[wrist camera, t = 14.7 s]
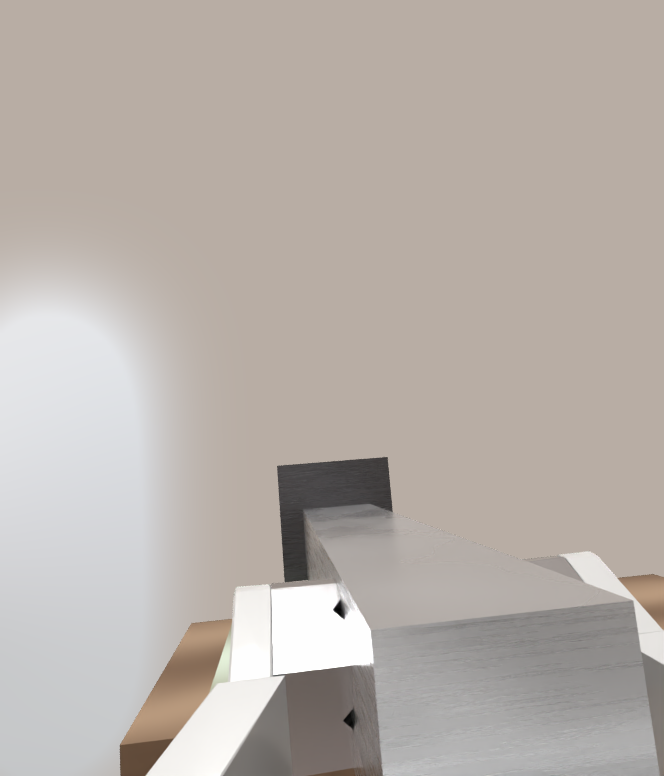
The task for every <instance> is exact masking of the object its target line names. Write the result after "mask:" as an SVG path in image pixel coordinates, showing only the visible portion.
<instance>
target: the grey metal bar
mask: <svg viewBox="0 0 664 776" xmlns="http://www.w3.org/2000/svg"><path fill="white" fill-rule="evenodd" d="M277 468H278V469H277V470H278V485H279V501H280V517H281V531H282V546H283V562H284V577H285V582H292V581H302V580H308V581H311V580H324V579H336V580H337V583H338V589H339V594H340V601H341V618H342V619H344V621H345V626H346V632H347V637H348V643H349V648H350V653H351V659H352V664H353V709H352V710H351V717H352V724H353V730H354V771H355V775H356V776H660V773H659V767H658V760H657V753H656V747H655V740H654V734H653V727H652V720H651V714H650V707H649V701H648V694H647V687H646V681H645V674H644V668H643V661H642V654H641V648H640V641H639V634H638V628H637V621H636V615H635V608H634V601H633V600H631V599H628V598H625V597H623V596H620V595H617V594H614V593H612V592H609V591H606V590H604V589H601V588H598V587H595V586H593V585H590V584H587V583H584V582H582V581H579V580H576V579H574V578H571V577H568V576H565V575H563V574H560V573H557V572H554V571H552V570H549V569H546V568H544V567H541V566H538V565H535V564H533V563H530V562H527V561H524V560H522V559H518V558H516V557H513V556H511V555H508V554H505V553H502V552H500V551H497V550H494V549H492V548H489V547H486V546H483V545H481V544H478V543H475V542H473V541H470V540H467V539H464V538H462V537H459V536H456V535H453V534H451V533H448V532H445V531H443V530H440V529H437V528H434V527H432V526H429V525H426V524H423V523H421V522H418V521H415V520H413V519H410V518H407V517H404V516H402V515H399V514H396V513H393V511H392V500H391V490H390V480H389V468H388V458H387V457H383V458H370V459H358V460H345V461H333V462H320V463H308V464H296V465H283V466H277Z"/></svg>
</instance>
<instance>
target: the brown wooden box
mask: <svg viewBox="0 0 664 776" xmlns="http://www.w3.org/2000/svg"><path fill="white" fill-rule="evenodd" d="M618 580H619V581H620V582H621V583H622V584H623V585H624V586H625V587H626V589H627V590H628V591H629V592H630V593H631V594H632V595H633V597H634V598H635V599H636V600H637V601H638V602H639V603H640V604H641V606H642V607H643V608H644V609H645V610H646V611H647V612H648V613H649V615H650V616H651V617H652V618H653V619H654V620H655V621H656V623H657V624H658V625H659V626H660V627H661V628H662V629H663V630H664V577H661V576H658V575H654V574H651V575H641V576H632V577H622V578H618ZM231 630H232V619H227V620H219V621H218V620H217V621H208V622H200V623H192V624H191V625H190V627H189V628H188V630H187V632H186V634H185V635H184V637H183V639H182V641H181V642H180V644H179V645H178V647H177V649H176V651H175V652H174V654H173V656H172V657H171V659H170V661H169V663H168V664H167V666H166V668H165V670H164V671H163V673H162V674H161V676H160V678H159V680H158V681H157V683H156V685H155V686H154V688H153V690H152V691H151V693H150V695H149V696H148V698H147V700H146V702H145V703H144V705H143V707H142V708H141V710H140V712H139V714H138V715H137V717H136V719H135V720H134V722H133V724H132V725H131V727H130V729H129V731H128V732H127V734H126V736H125V737H124V739H123V741H122V743H121V744H120V770H121V776H146V774H147V773H148V772H149V771H150V769H151V768H152V767H153V765H154V764H155V763H156V762H157V760H158V759H159V758H160V756H161V755H162V754H163V752H164V751H165V750H166V749H167V747H168V746H169V745H170V743H171V742H172V741H173V740H174V738H175V737H176V736H177V734H178V733H179V732H180V730H181V729H182V728H183V727H184V725H185V724H186V723H187V721H188V720H189V719H190V717H191V716H192V715H193V714H194V712H195V711H196V710H197V708H198V707H199V706H200V705H201V703H202V702H203V701H204V699H205V698H206V697H207V695H208V694H209V693H210V692H211V690H212V689H213V688H214V686H215V685H216V684H217V683H224V682H228V675H229V660H230V645H231ZM309 776H356V775H355V771H354V768H350V769H344V770H338V771H332V772H326V773H320V774H314V775H309Z"/></svg>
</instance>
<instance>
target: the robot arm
mask: <svg viewBox="0 0 664 776" xmlns="http://www.w3.org/2000/svg"><path fill="white" fill-rule="evenodd" d="M522 560H524V561H527V562H530V563H533V564H535V565H538V566H541V567H544V568H546V569H549V570H552V571H554V572H557V573H560V574H563V575H565V576H568V577H571V578H574V579H576V580H579V581H582V582H584V583H587V584H590V585H593V586H595V587H598V588H601V589H604V590H606V591H609V592H612V593H614V594H617V595H620V596H623V597H625V598H628V599H631V600H633V601H634V608H635V615H636V621H637V628H638V634H639V641H640V648H641V654H642V661H643V668H644V674H645V681H646V687H647V694H648V701H649V707H650V714H651V720H652V727H653V734H654V740H655V747H656V753H657V760H658V767H659V773H660V776H664V630H663V629H662V628H661V627H660V626H659V625H658V624H657V623H656V621H655V620H654V619H653V618H652V617H651V616H650V615H649V613H648V612H647V611H646V610H645V609H644V608H643V607H642V606H641V604H640V603H639V602H638V601H637V600H636V599H635V598H634V597H633V595H632V594H631V593H630V592H629V591H628V590H627V589H626V587H625V586H624V585H623V584H622V583H621V582H620V581H619V580H618V578H617V577H616V576H615V575H614V574H613V573H612V572H611V571H610V569H609V568H608V567H607V566H606V565H605V564H604V563H603V561H602V560H601V559H600V558H599V557H598V556H597V555H595V554H593V553H592V552H590V551H587V552H578V553H570V554H562V555H558V556H550V557H541V558H533V559H532V558H531V559H522ZM352 709H353V664H352V659H351V653H350V648H349V643H348V637H347V632H346V626H345V621H344V619H342V618H341V601H340V594H339V589H338V583H337V580H336V579H324V580H311V581H298V582H285V583H272V584H271V585H269V584H267V585H255V586H242V587H236V590H235V593H234V601H233V615H232V630H231V645H230V660H229V675H228V682H224V683H217V684H216V685H215V686H214V688H213V689H212V690H211V692H210V693H209V694H208V695H207V697H206V698H205V699H204V701H203V702H202V703H201V705H200V706H199V707H198V708H197V710H196V711H195V712H194V714H193V715H192V716H191V717H190V719H189V720H188V721H187V723H186V724H185V725H184V727H183V728H182V729H181V730H180V732H179V733H178V734H177V736H176V737H175V738H174V740H173V741H172V742H171V743H170V745H169V746H168V747H167V749H166V750H165V751H164V752H163V754H162V755H161V756H160V758H159V759H158V760H157V762H156V763H155V764H154V765H153V767H152V768H151V769H150V771H149V772H148V773H147V774H146V776H309V775H314V774H320V773H326V772H332V771H338V770H344V769H350V768H354V730H353V724H352V717H351V710H352Z"/></svg>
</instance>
